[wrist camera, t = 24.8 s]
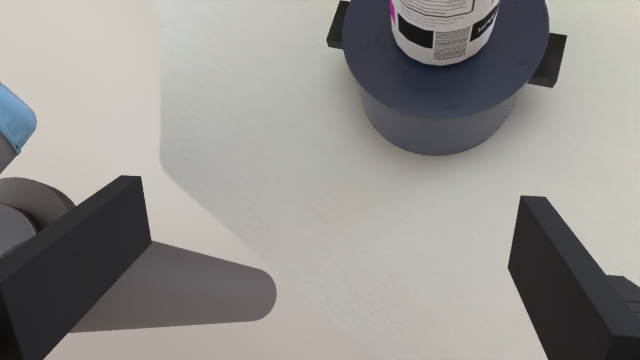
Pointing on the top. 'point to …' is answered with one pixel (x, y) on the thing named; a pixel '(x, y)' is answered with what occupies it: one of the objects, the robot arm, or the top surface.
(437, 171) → the top surface
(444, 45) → the supplement can
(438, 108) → the pot
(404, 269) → the top surface
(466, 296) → the top surface
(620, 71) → the top surface
